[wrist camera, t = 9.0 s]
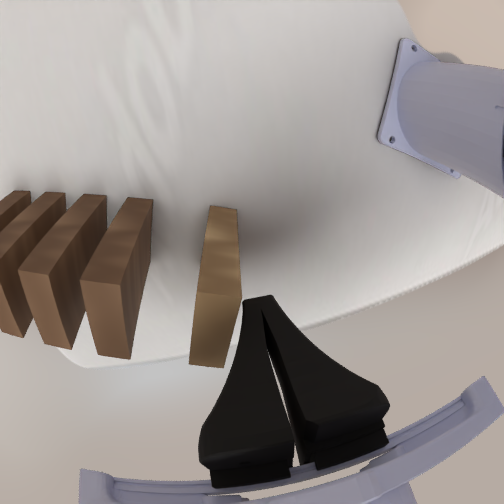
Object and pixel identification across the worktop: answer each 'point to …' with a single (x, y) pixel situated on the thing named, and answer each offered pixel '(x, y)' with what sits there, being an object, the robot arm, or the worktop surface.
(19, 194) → the domino
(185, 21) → the worktop surface
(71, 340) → the domino
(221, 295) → the domino
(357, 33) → the worktop surface
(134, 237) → the domino
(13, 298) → the domino
